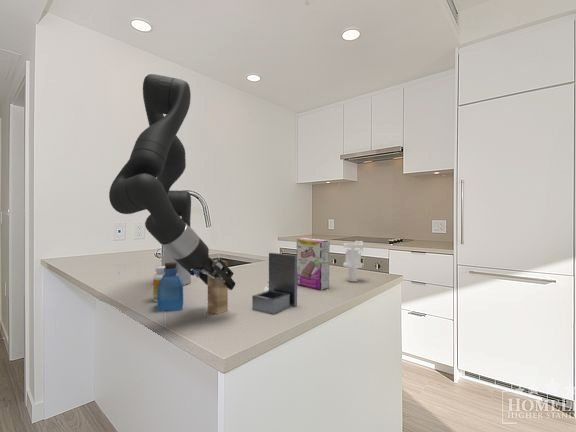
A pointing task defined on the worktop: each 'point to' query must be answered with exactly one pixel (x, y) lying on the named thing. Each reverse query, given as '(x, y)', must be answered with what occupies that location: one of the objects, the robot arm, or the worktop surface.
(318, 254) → the candy bar box
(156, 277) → the supplement bottle
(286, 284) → the grey holder with backboard
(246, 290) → the worktop surface
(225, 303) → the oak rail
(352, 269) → the white upright piece
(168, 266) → the perfume bottle
